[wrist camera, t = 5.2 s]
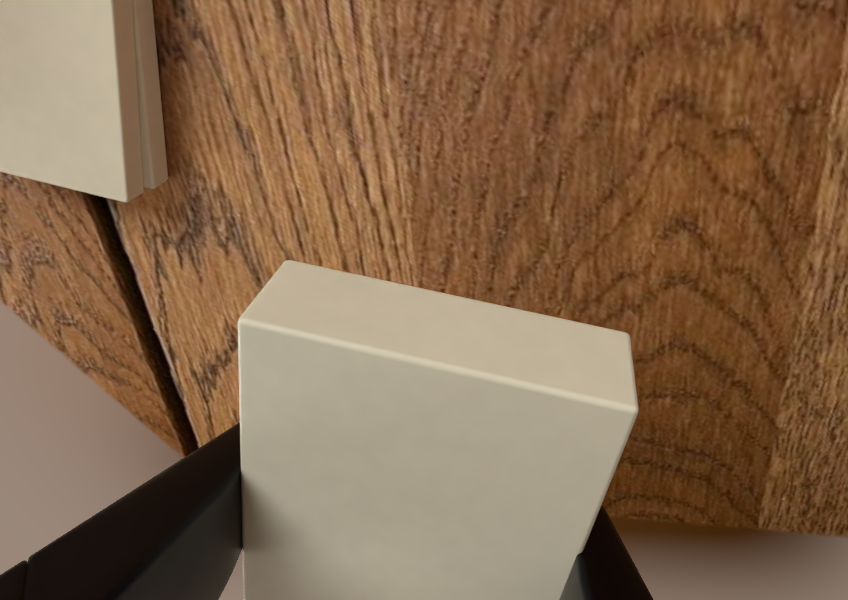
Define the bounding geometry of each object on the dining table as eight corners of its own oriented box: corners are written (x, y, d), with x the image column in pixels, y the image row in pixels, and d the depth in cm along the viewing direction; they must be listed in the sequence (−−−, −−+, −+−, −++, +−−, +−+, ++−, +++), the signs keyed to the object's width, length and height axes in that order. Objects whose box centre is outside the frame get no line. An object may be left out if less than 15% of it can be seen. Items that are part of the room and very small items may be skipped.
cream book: (526, 620, 11) (520, 711, 10) (278, 555, 12) (242, 635, 10) (632, 331, 8) (641, 411, 7) (285, 256, 9) (234, 318, 7)
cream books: (171, 184, 23) (139, 206, 22) (8, 152, 24) (-35, 172, 22) (147, -85, 19) (105, -84, 17) (-50, -114, 20) (-110, -116, 18)
